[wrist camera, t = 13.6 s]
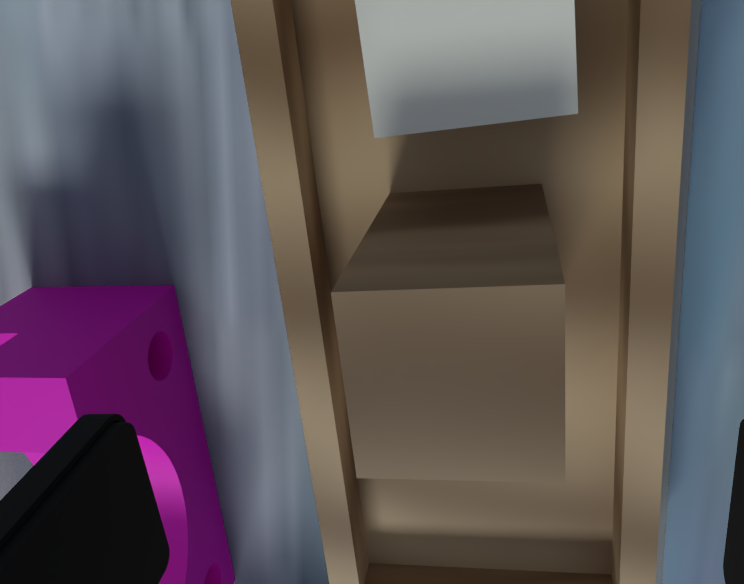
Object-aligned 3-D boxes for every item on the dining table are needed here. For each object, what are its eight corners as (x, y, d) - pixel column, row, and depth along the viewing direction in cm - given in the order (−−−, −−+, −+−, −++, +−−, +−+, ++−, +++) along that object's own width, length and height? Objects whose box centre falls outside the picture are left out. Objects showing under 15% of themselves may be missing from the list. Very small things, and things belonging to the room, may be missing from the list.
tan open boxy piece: (245, -208, 17) (11, -404, 9) (668, -289, 15) (867, -636, 7) (355, 543, 26) (288, 790, 18) (631, 554, 24) (699, 838, 16)
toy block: (35, 285, 28) (-116, 375, 21) (176, 283, 27) (65, 378, 20) (117, 567, 33) (19, 711, 27) (236, 576, 32) (166, 728, 25)
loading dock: (249, -178, 20) (209, -208, 17) (687, -258, 18) (722, -306, 15) (352, 526, 30) (337, 579, 27) (644, 537, 27) (661, 596, 24)
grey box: (378, -62, 16) (343, -82, 12) (553, -94, 15) (570, -126, 12) (400, 110, 17) (374, 138, 14) (561, 90, 17) (578, 113, 13)
